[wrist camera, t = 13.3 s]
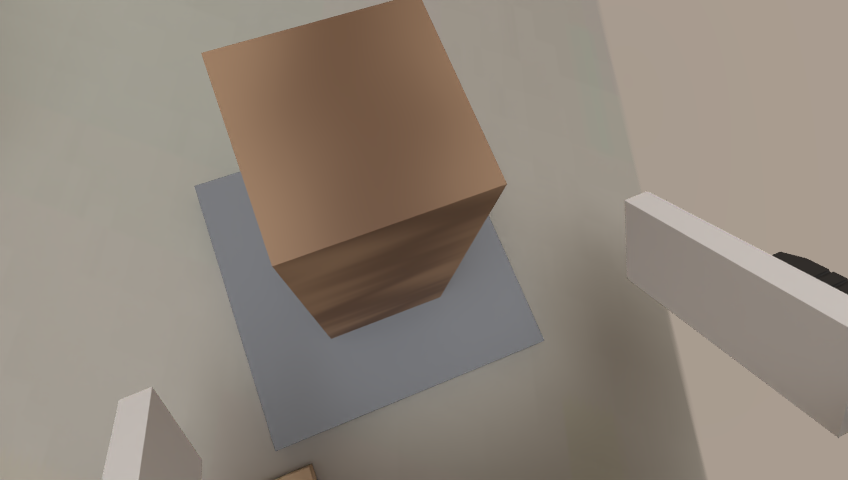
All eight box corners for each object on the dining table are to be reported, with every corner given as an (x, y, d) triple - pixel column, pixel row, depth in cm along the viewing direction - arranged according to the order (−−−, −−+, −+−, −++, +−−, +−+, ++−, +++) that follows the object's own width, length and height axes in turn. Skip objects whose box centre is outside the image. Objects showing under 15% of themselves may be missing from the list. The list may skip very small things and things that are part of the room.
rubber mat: (280, 448, 22) (275, 451, 21) (201, 194, 25) (194, 186, 24) (537, 342, 24) (544, 340, 23) (438, 118, 27) (440, 108, 26)
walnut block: (331, 338, 23) (272, 266, 10) (294, 232, 24) (201, 53, 12) (440, 297, 24) (506, 184, 11) (399, 196, 25) (418, -7, 12)
